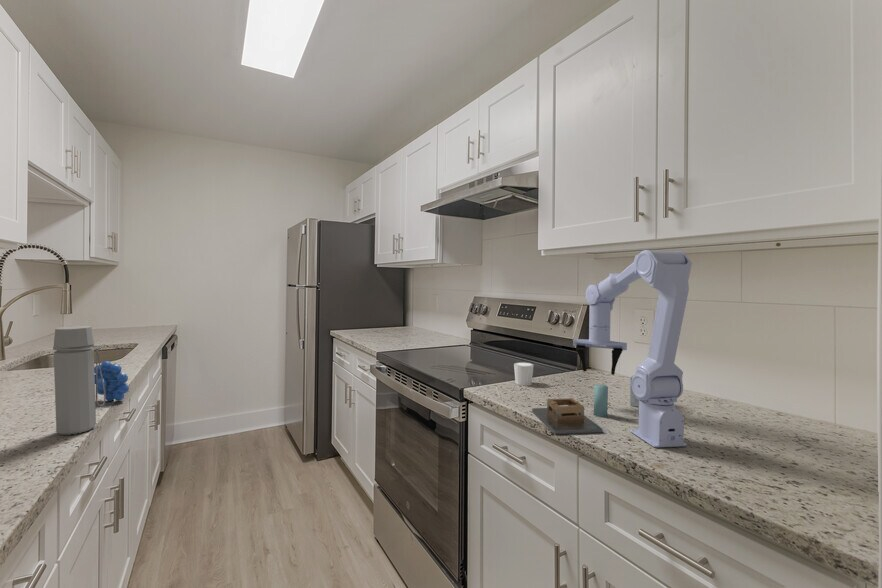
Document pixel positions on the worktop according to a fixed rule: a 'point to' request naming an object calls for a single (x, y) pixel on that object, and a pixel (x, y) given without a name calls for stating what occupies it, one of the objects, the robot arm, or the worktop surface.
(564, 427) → the wooden crate on slab
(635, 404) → the medicine box
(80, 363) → the water bottle
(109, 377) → the grapes
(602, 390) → the teal cylinder
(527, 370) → the white cup
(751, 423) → the worktop surface
